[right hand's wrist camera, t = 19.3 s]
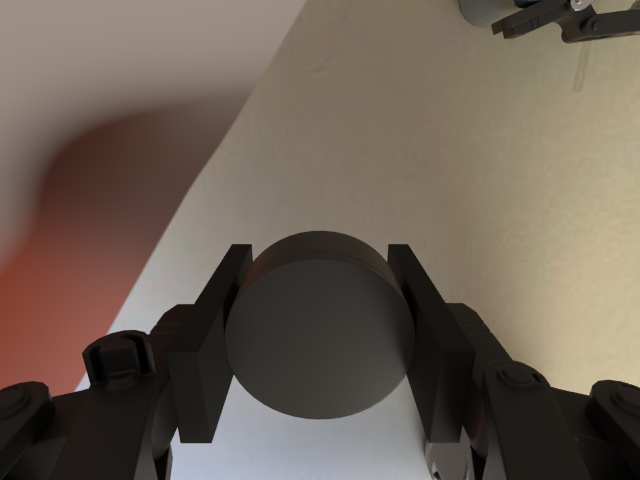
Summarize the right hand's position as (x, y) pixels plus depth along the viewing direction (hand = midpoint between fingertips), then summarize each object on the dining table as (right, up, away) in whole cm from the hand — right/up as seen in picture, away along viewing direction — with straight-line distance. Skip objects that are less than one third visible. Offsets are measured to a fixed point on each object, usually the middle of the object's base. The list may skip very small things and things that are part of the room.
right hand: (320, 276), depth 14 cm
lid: (0, -1, -4) cm, 4 cm away
